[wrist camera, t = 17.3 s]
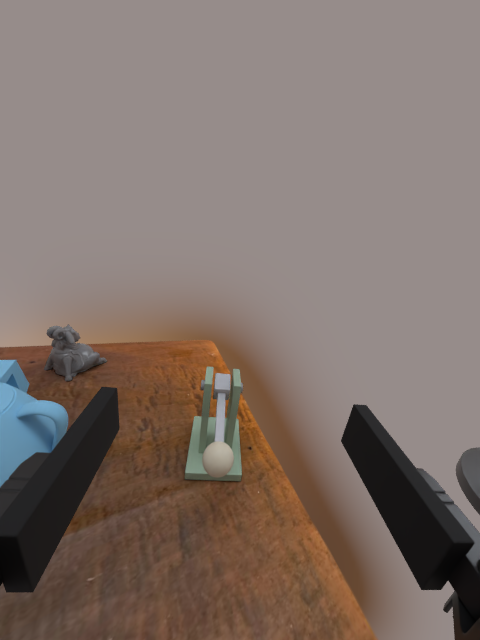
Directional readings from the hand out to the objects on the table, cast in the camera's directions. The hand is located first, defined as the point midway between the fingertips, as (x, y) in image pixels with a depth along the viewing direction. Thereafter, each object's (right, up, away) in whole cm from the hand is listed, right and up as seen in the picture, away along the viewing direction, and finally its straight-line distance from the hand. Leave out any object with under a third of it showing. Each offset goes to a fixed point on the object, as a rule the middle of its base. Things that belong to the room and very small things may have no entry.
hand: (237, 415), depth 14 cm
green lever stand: (-4, -16, +26) cm, 31 cm away
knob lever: (-3, -9, +19) cm, 21 cm away
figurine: (-37, -5, +42) cm, 57 cm away
